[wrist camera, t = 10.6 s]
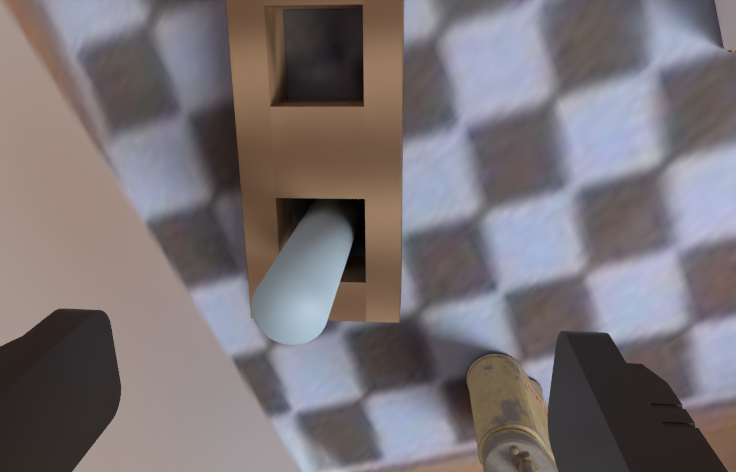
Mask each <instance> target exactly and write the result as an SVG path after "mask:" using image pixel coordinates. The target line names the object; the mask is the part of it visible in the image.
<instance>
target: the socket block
mask: <svg viewBox="0 0 736 472" xmlns="http://www.w3.org/2000/svg"><path fill="white" fill-rule="evenodd" d="M303 9H363V69H364V99H288V91H287V72H286V53H285V33H284V14H283V10H303ZM226 10H227V22H228V35H229V47H230V59H231V72H232V84H233V97H234V109H235V121H236V134H237V146H238V159H239V171H240V183H241V196H242V208H243V221H244V233H245V245H246V258H247V270H248V283H249V295H250V307H251V302H252V297H253V294H254V292H255V290H256V289H257V287H258V286H259V284H260V283H261V281H262V280H263V278H264V276H265V275H266V273H267V272H268V270H269V269H270V267H271V266H272V264H273V263H274V261H275V260H276V258H277V256H278V255H279V253H280V252H281V250H282V249H283V247H284V246H285V244H286V243H287V241H288V239H289V238H290V236H291V235H292V233H293V232H294V230H295V227H294V207H293V198H320V199H365V248H366V256H360V255H348V259H347V262H346V265H345V268H344V271H343V274H342V277H341V280H340V283H339V286H338V289H337V292H336V295H335V299H334V302H333V305H332V308H331V311H330V314H329V317H328V320H329V321H363V322H396V323H399V318H400V304H401V274H402V173H403V72H404V0H226ZM251 318H253V316H252V311H251Z"/></svg>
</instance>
